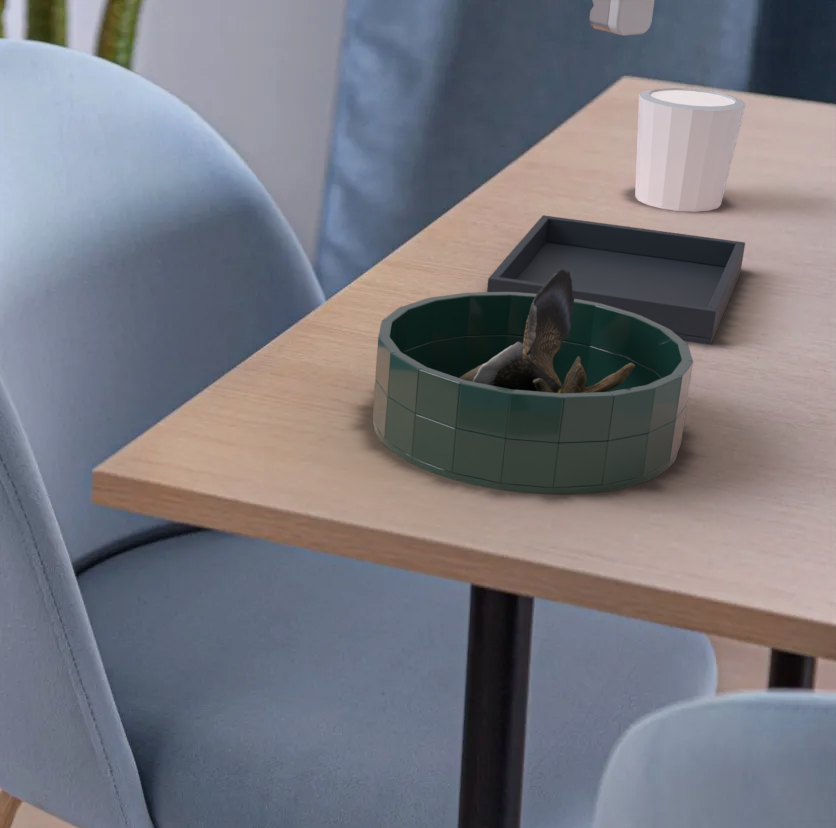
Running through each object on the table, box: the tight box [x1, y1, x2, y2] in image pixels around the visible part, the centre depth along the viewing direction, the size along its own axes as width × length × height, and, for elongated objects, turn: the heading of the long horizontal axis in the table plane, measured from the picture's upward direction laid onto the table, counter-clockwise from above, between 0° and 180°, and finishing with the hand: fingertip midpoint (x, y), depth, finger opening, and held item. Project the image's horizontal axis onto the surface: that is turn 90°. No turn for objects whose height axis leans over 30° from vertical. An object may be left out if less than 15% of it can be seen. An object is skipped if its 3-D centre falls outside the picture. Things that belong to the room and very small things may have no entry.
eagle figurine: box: [460, 269, 635, 394], centre depth 78 cm, size 8×7×9 cm
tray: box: [486, 214, 746, 346], centre depth 98 cm, size 14×12×2 cm
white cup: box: [634, 87, 747, 213], centre depth 116 cm, size 7×7×7 cm
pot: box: [372, 291, 694, 495], centre depth 78 cm, size 14×14×4 cm
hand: (530, 11), depth 68 cm, fingers open, 8 cm apart
